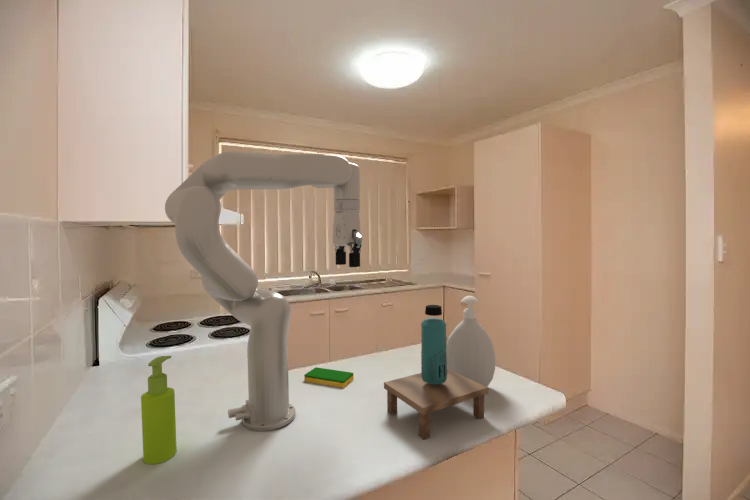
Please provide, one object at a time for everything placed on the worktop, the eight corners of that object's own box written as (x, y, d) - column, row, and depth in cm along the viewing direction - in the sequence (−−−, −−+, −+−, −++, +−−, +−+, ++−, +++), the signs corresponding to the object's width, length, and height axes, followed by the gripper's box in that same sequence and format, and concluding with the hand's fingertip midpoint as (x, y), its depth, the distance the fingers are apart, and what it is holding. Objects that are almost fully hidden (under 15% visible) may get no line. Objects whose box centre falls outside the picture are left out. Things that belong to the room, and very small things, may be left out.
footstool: (423, 441, 79) (423, 408, 78) (384, 411, 92) (383, 382, 92) (487, 417, 89) (487, 387, 88) (443, 393, 103) (443, 367, 102)
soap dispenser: (184, 443, 79) (181, 353, 78) (167, 464, 72) (163, 364, 71) (156, 444, 79) (153, 353, 78) (136, 464, 72) (133, 365, 71)
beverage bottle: (439, 393, 86) (439, 309, 85) (415, 386, 90) (415, 306, 89) (451, 383, 91) (451, 304, 90) (428, 377, 95) (428, 302, 94)
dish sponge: (315, 374, 119) (315, 366, 118) (354, 380, 113) (353, 372, 113) (303, 382, 112) (303, 374, 112) (343, 389, 107) (343, 381, 107)
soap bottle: (493, 381, 110) (494, 293, 109) (496, 393, 102) (497, 298, 101) (445, 378, 113) (445, 292, 112) (444, 388, 105) (444, 297, 104)
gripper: (324, 208, 111) (324, 264, 111) (347, 204, 96) (347, 268, 96) (346, 209, 114) (347, 263, 115) (372, 205, 99) (372, 267, 100)
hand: (347, 265), depth 106 cm, fingers open, 9 cm apart
